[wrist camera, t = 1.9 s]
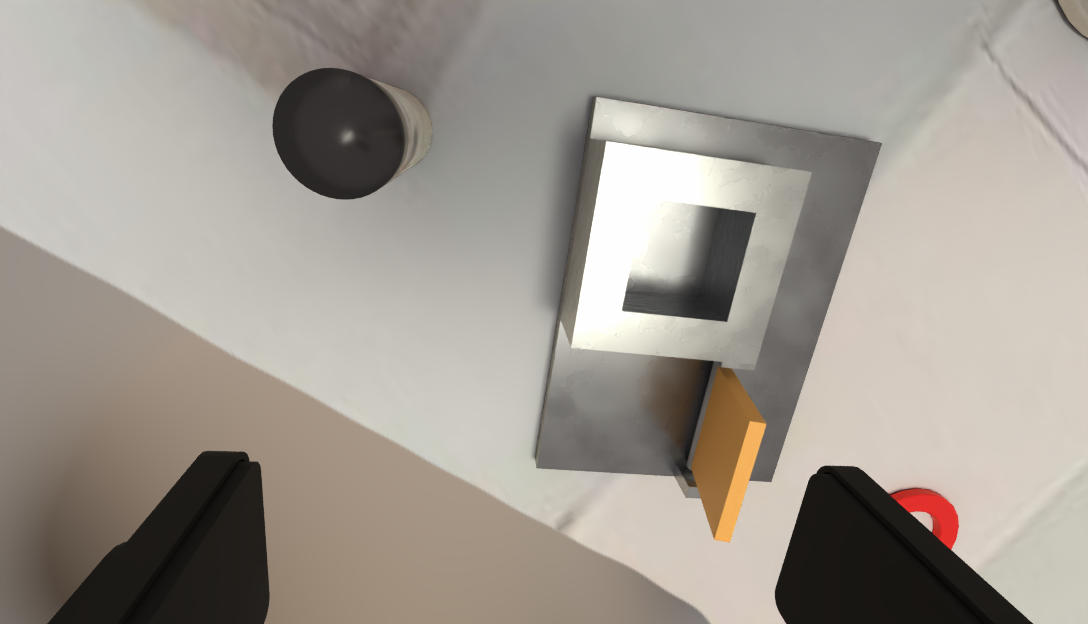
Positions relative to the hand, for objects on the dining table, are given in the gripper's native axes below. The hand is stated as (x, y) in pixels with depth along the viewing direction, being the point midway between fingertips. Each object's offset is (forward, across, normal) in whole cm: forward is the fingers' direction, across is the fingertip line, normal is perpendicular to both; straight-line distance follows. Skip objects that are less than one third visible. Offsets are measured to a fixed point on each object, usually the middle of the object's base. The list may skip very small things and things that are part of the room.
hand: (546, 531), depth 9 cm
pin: (+22, +6, -6) cm, 24 cm away
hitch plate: (+22, -12, +3) cm, 25 cm away
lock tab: (+21, -14, +9) cm, 26 cm away
